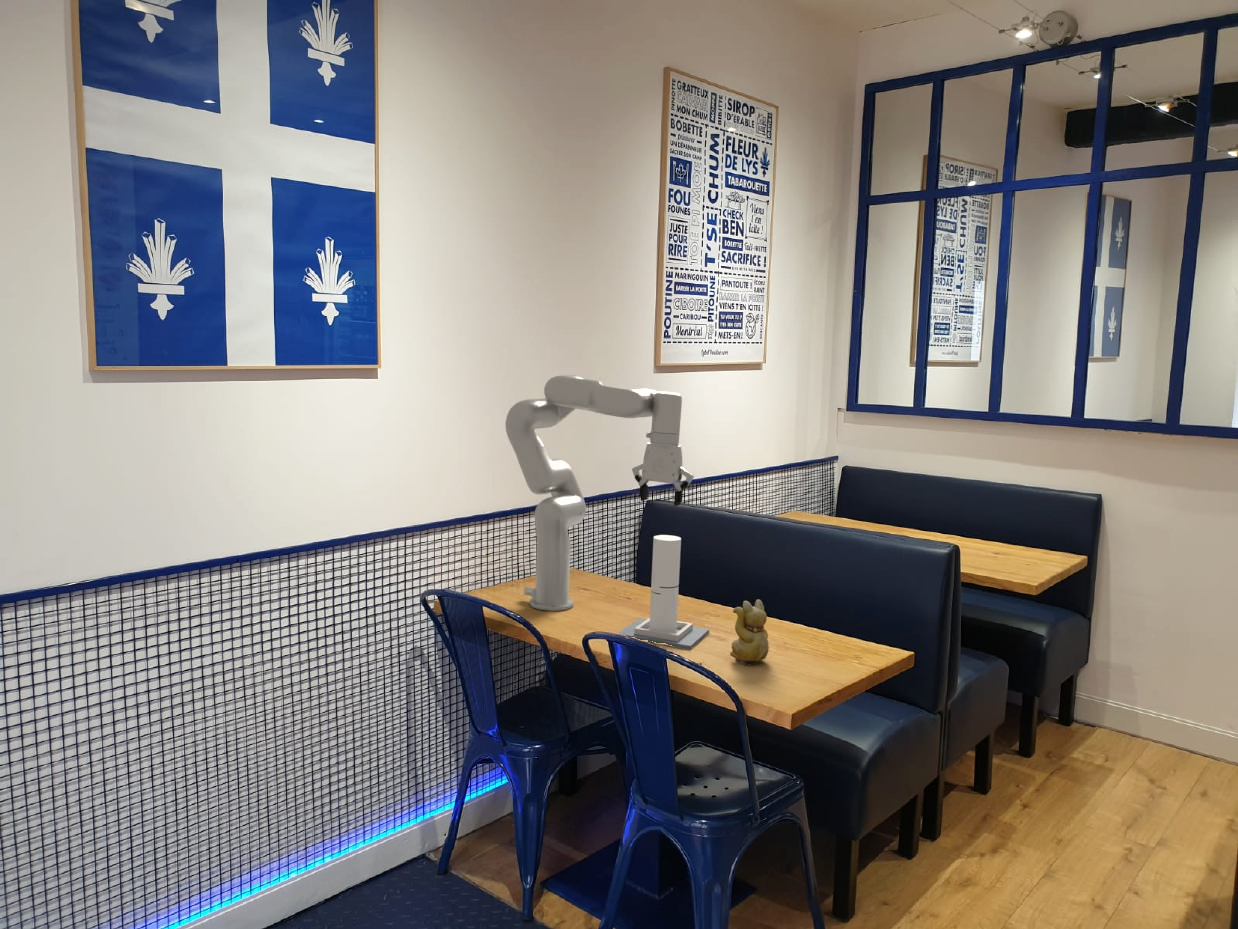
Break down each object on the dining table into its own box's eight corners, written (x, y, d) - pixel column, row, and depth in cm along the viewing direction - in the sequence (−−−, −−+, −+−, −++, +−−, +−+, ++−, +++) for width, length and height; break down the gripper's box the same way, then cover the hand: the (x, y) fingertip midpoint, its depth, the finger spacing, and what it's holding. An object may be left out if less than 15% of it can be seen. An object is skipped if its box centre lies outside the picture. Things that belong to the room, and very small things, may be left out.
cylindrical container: (674, 636, 243) (679, 541, 240) (647, 633, 245) (651, 539, 241) (678, 628, 250) (682, 536, 247) (651, 626, 251) (655, 534, 248)
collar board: (616, 637, 244) (617, 628, 243) (639, 621, 258) (639, 612, 258) (690, 649, 236) (690, 640, 236) (709, 632, 251) (709, 623, 251)
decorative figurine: (752, 653, 235) (755, 595, 233) (777, 662, 229) (781, 602, 227) (725, 660, 229) (728, 600, 227) (750, 670, 223) (753, 608, 221)
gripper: (629, 436, 249) (625, 500, 251) (690, 443, 242) (685, 509, 244) (640, 434, 256) (636, 496, 258) (700, 441, 249) (695, 505, 251)
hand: (660, 502), depth 251 cm, fingers open, 9 cm apart
